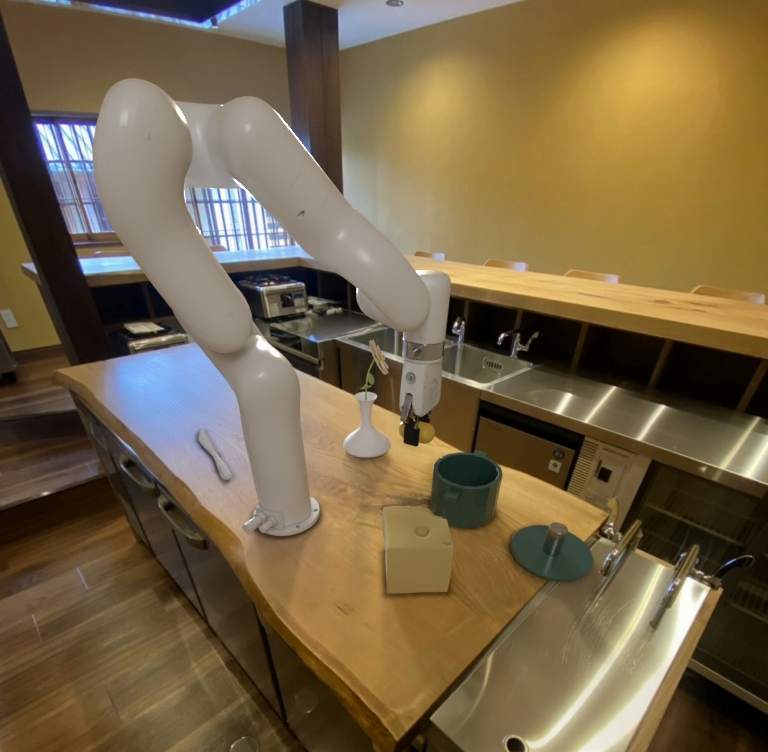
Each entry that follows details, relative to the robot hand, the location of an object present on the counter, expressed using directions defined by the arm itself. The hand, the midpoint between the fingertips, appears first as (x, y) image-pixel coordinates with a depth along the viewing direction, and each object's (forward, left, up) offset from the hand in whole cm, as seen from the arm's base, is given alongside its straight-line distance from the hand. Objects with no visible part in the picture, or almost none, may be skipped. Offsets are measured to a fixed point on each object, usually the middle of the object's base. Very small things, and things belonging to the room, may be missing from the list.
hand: (416, 438), depth 88 cm
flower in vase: (+5, +15, -9) cm, 18 cm away
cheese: (-27, -12, -9) cm, 31 cm away
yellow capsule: (0, 0, 0) cm, 0 cm away
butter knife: (-14, +46, -9) cm, 49 cm away
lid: (-12, -31, -9) cm, 35 cm away
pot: (-6, -13, -9) cm, 17 cm away
